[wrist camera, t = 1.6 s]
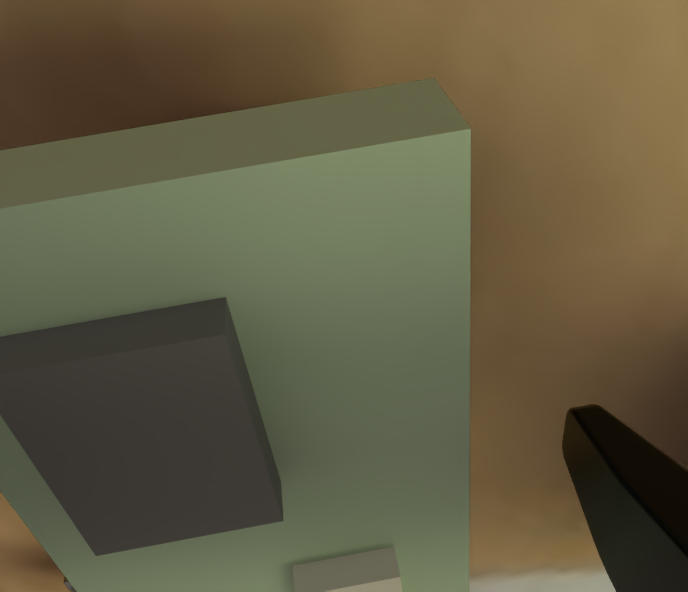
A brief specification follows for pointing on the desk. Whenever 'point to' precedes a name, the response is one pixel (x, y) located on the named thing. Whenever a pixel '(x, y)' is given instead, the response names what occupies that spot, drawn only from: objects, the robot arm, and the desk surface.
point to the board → (244, 348)
